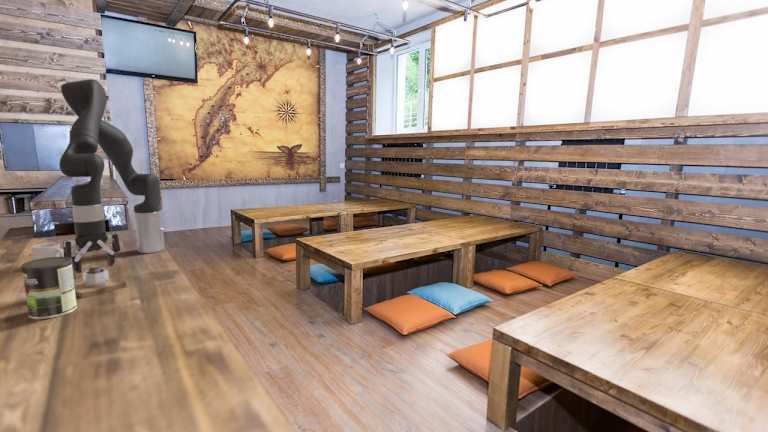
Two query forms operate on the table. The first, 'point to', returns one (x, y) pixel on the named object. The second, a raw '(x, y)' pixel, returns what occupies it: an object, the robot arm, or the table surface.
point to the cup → (47, 250)
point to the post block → (89, 291)
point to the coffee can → (49, 287)
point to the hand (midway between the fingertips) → (95, 269)
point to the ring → (95, 278)
